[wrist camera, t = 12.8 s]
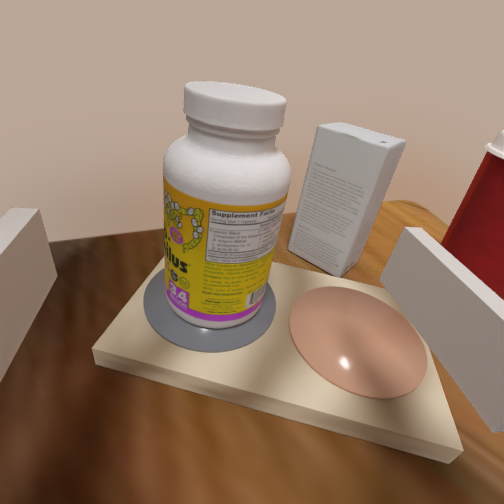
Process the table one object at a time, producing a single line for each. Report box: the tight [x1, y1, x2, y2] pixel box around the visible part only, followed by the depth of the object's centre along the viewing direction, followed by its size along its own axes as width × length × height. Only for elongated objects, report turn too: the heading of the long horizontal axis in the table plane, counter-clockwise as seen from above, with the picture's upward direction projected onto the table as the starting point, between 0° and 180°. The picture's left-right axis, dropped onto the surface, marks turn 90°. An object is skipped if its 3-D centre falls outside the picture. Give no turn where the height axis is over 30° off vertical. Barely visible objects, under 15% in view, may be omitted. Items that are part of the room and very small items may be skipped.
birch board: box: [92, 257, 464, 464], centre depth 22 cm, size 20×12×2 cm, turn 79°
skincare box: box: [288, 122, 406, 278], centre depth 27 cm, size 6×4×12 cm
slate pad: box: [143, 268, 276, 353], centre depth 22 cm, size 9×9×1 cm
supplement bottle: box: [163, 81, 291, 329], centre depth 18 cm, size 7×7×13 cm
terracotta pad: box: [289, 286, 428, 400], centre depth 21 cm, size 9×9×1 cm
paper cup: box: [440, 130, 504, 300], centre depth 24 cm, size 8×8×14 cm
